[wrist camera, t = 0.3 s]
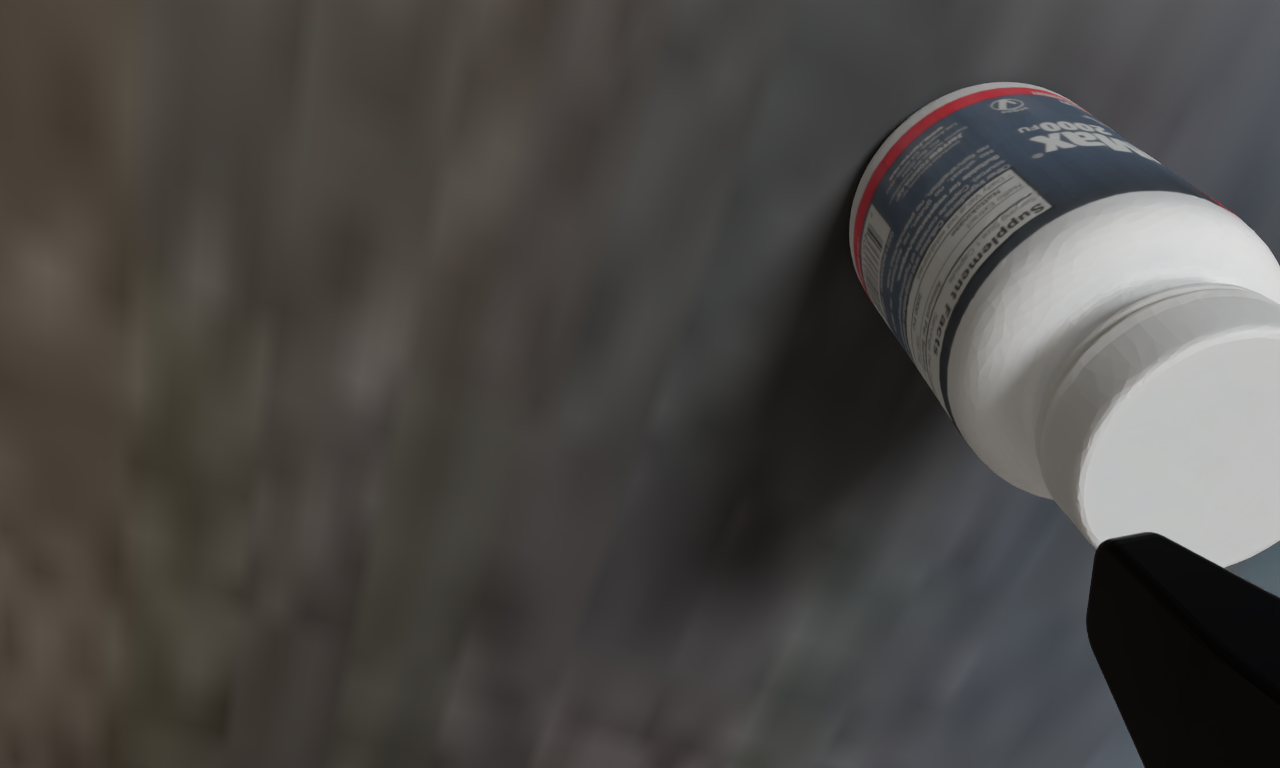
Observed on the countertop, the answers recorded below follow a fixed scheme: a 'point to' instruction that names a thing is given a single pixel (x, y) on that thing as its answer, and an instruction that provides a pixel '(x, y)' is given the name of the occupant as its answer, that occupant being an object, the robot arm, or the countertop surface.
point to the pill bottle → (1081, 316)
